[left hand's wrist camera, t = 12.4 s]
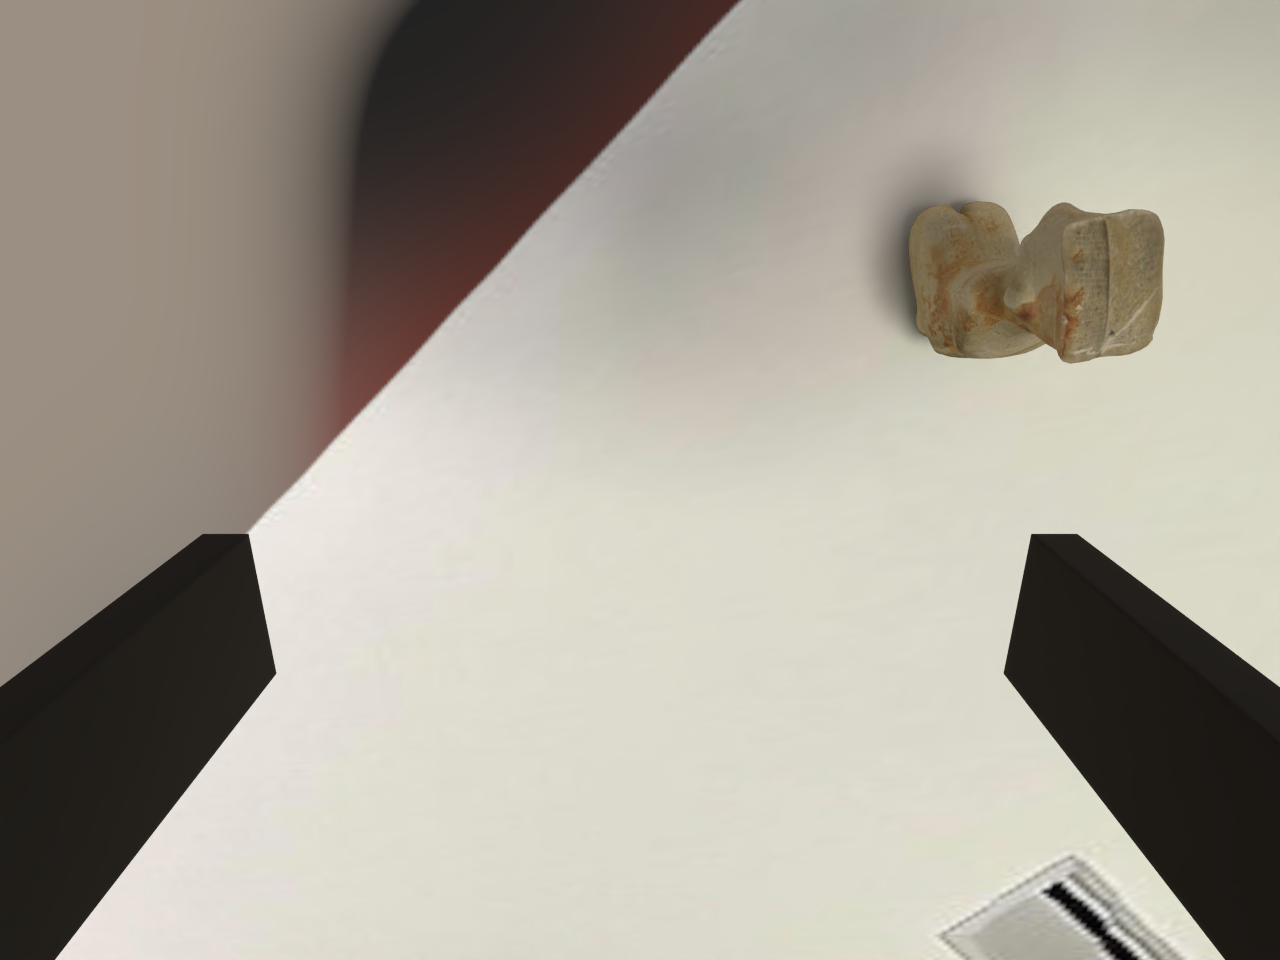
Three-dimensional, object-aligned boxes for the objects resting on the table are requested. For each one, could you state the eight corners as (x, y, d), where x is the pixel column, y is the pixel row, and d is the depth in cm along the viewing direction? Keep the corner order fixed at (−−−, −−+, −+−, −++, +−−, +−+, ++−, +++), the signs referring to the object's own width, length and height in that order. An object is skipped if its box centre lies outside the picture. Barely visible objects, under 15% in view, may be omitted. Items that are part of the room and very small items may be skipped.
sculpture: (1008, 197, 38) (1224, 193, 24) (996, 339, 41) (1185, 411, 26) (892, 207, 38) (1040, 209, 24) (888, 347, 41) (1019, 423, 27)
